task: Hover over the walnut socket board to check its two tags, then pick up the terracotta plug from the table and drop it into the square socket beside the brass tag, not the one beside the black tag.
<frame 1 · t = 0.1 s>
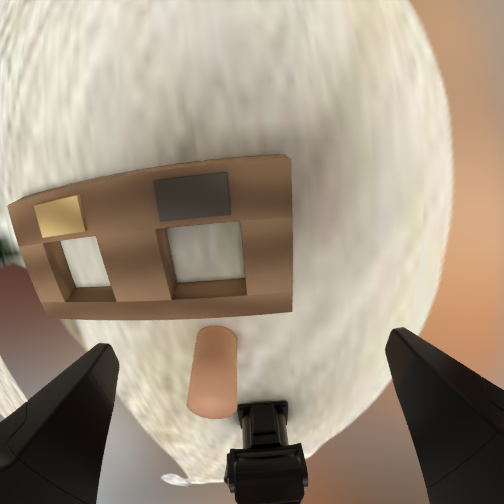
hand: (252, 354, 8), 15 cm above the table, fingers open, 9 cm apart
plug: (216, 340, 27), on the table
socket board: (140, 243, 22), on the table
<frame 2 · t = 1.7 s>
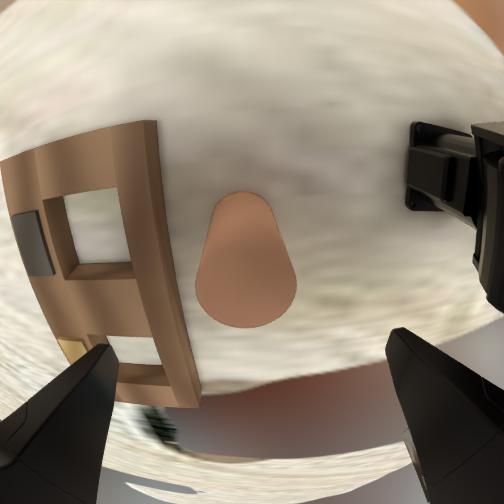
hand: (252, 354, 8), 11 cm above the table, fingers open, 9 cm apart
plug: (242, 221, 18), on the table
socket board: (107, 291, 20), on the table
coffee box: (426, 417, 35), on the table
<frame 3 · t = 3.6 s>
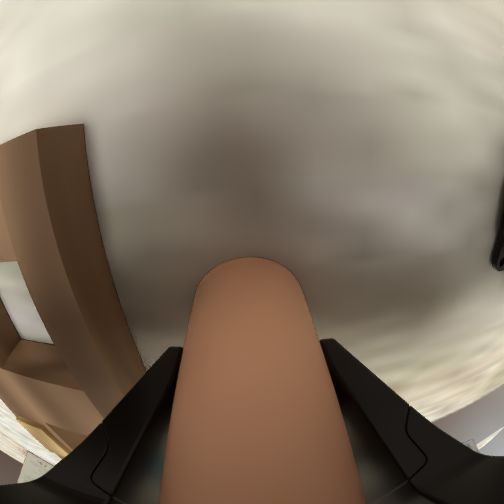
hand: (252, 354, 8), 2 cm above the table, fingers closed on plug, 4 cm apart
small box: (44, 462, 24), on the table
plug: (249, 306, 10), on the table, touching gripper
socket board: (62, 374, 12), on the table
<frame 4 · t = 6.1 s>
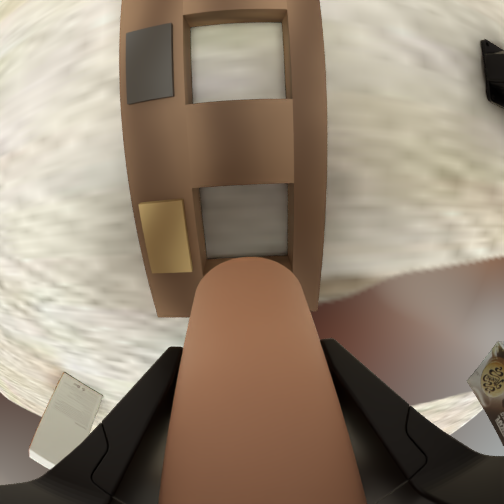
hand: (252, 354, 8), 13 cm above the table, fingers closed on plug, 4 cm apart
small box: (78, 392, 30), on the table
plug: (249, 306, 10), point 10 cm above the table, touching gripper
socket board: (225, 141, 17), on the table
coffee box: (488, 360, 31), on the table
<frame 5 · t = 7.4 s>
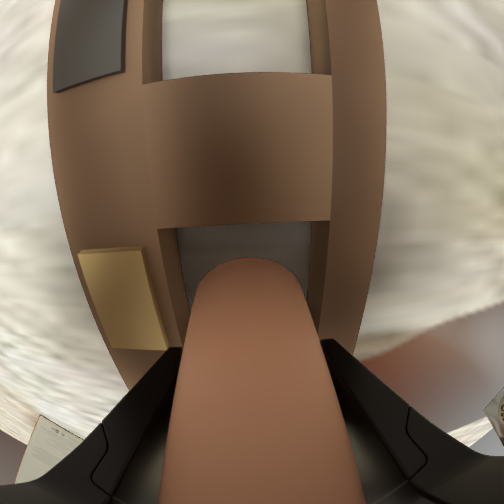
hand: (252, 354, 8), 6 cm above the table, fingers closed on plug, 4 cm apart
small box: (59, 433, 23), on the table
plug: (249, 306, 10), point 3 cm above the table, touching gripper
socket board: (214, 145, 11), on the table
when the fingers open (4 cm above the table, at t = 8.5 s): plug drops 2 cm, resting in socket board.
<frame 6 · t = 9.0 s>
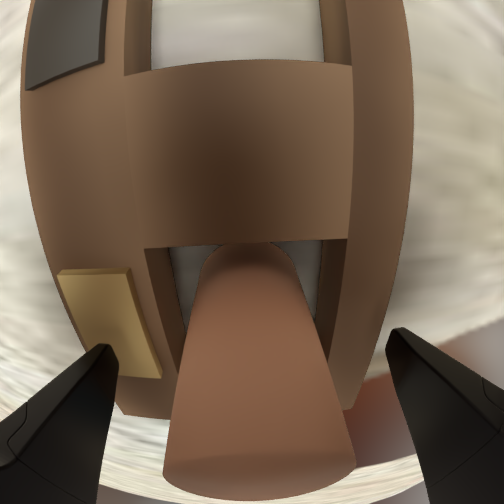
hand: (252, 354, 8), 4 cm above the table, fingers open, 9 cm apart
plug: (248, 284, 11), resting in socket board
socket board: (211, 148, 9), on the table
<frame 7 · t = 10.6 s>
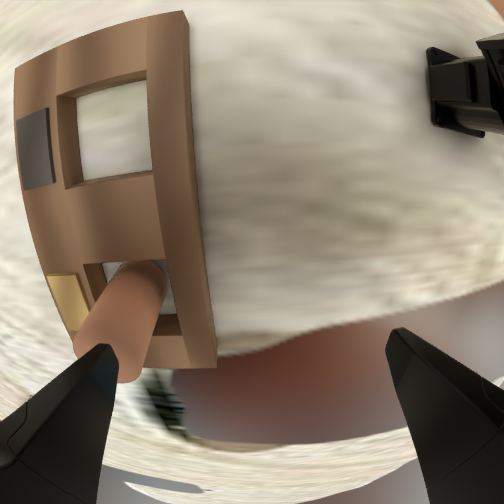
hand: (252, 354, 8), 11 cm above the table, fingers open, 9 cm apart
plug: (141, 282, 20), resting in socket board
socket board: (113, 212, 17), on the table
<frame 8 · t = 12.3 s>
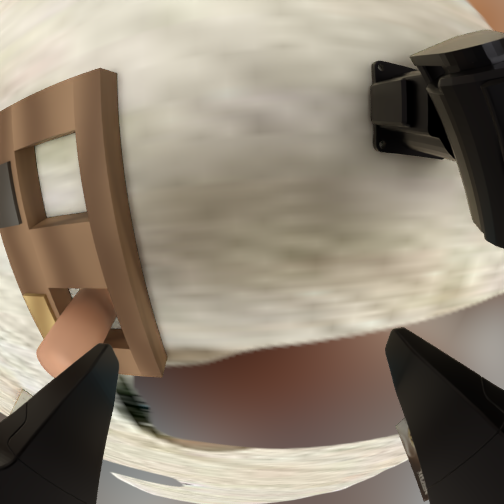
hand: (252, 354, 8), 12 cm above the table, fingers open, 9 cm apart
plug: (99, 301, 21), resting in socket board
socket board: (71, 244, 19), on the table
coffee box: (422, 407, 33), on the table
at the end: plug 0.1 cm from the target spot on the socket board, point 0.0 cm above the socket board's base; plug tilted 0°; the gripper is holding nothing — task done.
